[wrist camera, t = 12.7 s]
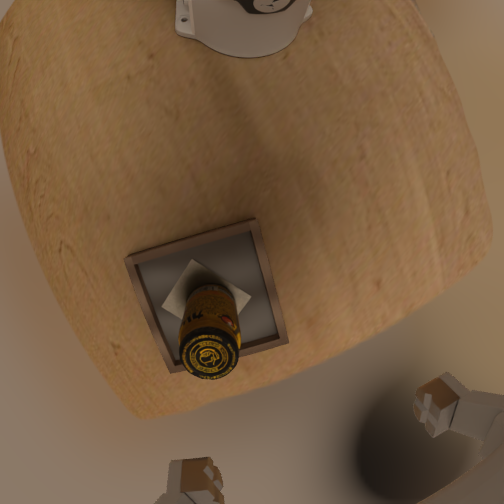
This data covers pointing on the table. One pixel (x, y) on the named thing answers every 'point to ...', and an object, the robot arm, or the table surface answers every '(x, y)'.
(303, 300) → the table surface
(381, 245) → the table surface
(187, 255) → the square wooden tray
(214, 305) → the condiment
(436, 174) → the table surface
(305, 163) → the table surface
